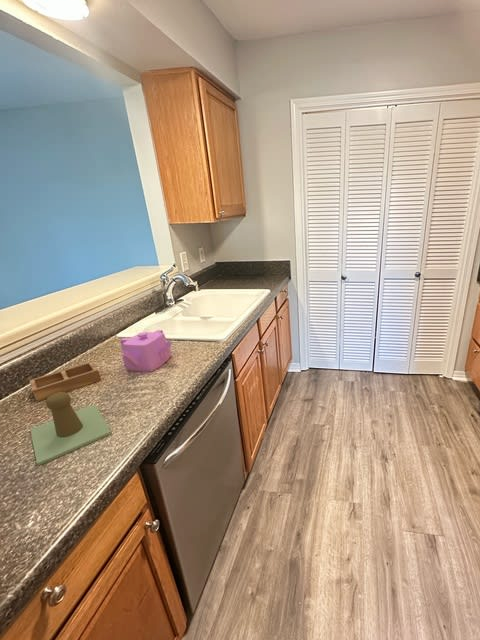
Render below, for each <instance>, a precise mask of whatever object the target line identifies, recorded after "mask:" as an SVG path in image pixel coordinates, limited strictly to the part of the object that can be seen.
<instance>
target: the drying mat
mask: <svg viewBox="0 0 480 640" xmlns="http://www.w3.org/2000/svg"><path fill="white" fill-rule="evenodd" d="M75 413H76V414H77V416H78V418H79V419H80V421H81V423H82V424H83V427H82V429H81V430H80V431H79V432H77V433H75V434H73V435H71V436H68V437H58V436H57V434H56V430H55V425H54V420H53V419H51V420H49V421H46V422H44V423H42V424H39V425H35V426H33V427H31V428H29V431H30V436H31V441H32V446H33V451H34V456H35V462H36V465H37V466H41V465H44V464H46V463H48V462H50V461H53V460H55V459H57V458H60V457H61V456H65V455H66V454H69V453H71V452H73V451H75V450H77V449H80V448H83V447H84V446H87V445H90V444H92V443H94V442H96V441H98V440H101V439H103V438H106V437H107V436H110V435H112V430H111V428H110V427H109V425H108V424H107V422H106V420H105V418H104V417H103V414H102V413H101V411H100V410H99V408H98V406H97V404H96V403H95V404H92V405H89V406H86V407H84V408H81V409H79V410H76V411H75Z"/></svg>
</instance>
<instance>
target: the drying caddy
mask: <svg viewBox="0 0 480 640" xmlns="http://www.w3.org/2000/svg"><path fill="white" fill-rule="evenodd" d="M99 380H100V381H102V378H101V375H100V372H99V370H98V368H97V367H96V365H95V364H94V362H93V361H92V360H91V361H89V362H84V363H81V364H78V365H74V366H71V367H68V368H65V369H62V370H61V369H60V370H58V371H55V372H52V373H47V374H45V375H42V376H38V377H35V378H30V379H29V384H30V388H31V392H32V394H33V396H34V399H35V401H36V403H38V402H41V401H43V400H47V398H48V397H49V396H51V395H53V394H55V393H58V392H66V393H68V392H70V391H73V390H76V389H80V388H81V387H85V386H87V385H91V384H94V383H97V382H99Z"/></svg>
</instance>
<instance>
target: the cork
mask: <svg viewBox="0 0 480 640" xmlns="http://www.w3.org/2000/svg"><path fill="white" fill-rule="evenodd" d="M71 401H72V398H71V396H70V394H69V393H68V392H58V393H55V394H53V395H51V396H49V397H48V398H47V399H45V405H46V407H47V409H49V410H51V416H52V420H54V425H55V430H56V434H57V436H58V437H68V436H71V435H73V434H75V433H77V432H79V431H80V430H81V429H82V427H83V424H82V423H81V421H80V419H79V418H78V416H77V414H76V413H75V412H76V411H75V410H74V408H73V406H72V404H71Z"/></svg>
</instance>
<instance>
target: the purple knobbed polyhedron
mask: <svg viewBox="0 0 480 640" xmlns="http://www.w3.org/2000/svg"><path fill="white" fill-rule="evenodd" d="M172 344H173V341H170V340H168V338H167V337H166V335H165V333H164V331H163V330H162V329H156V330H155V331H151V332H150V331H142V332H139V333H136V334H135V335H134V336H132V337H123V338H120V347H121V353H122V354H121V356H122V362H123V365H124V367H125V368H126V370H127V371H131V372H146V373H147V372H148V373H149V372H153V371H156V370H157V369H158V368H160V367H162V365H164V364H166V362H167V361H168V360H169V359H170V358H171V356H172V350H171V346H172Z"/></svg>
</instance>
